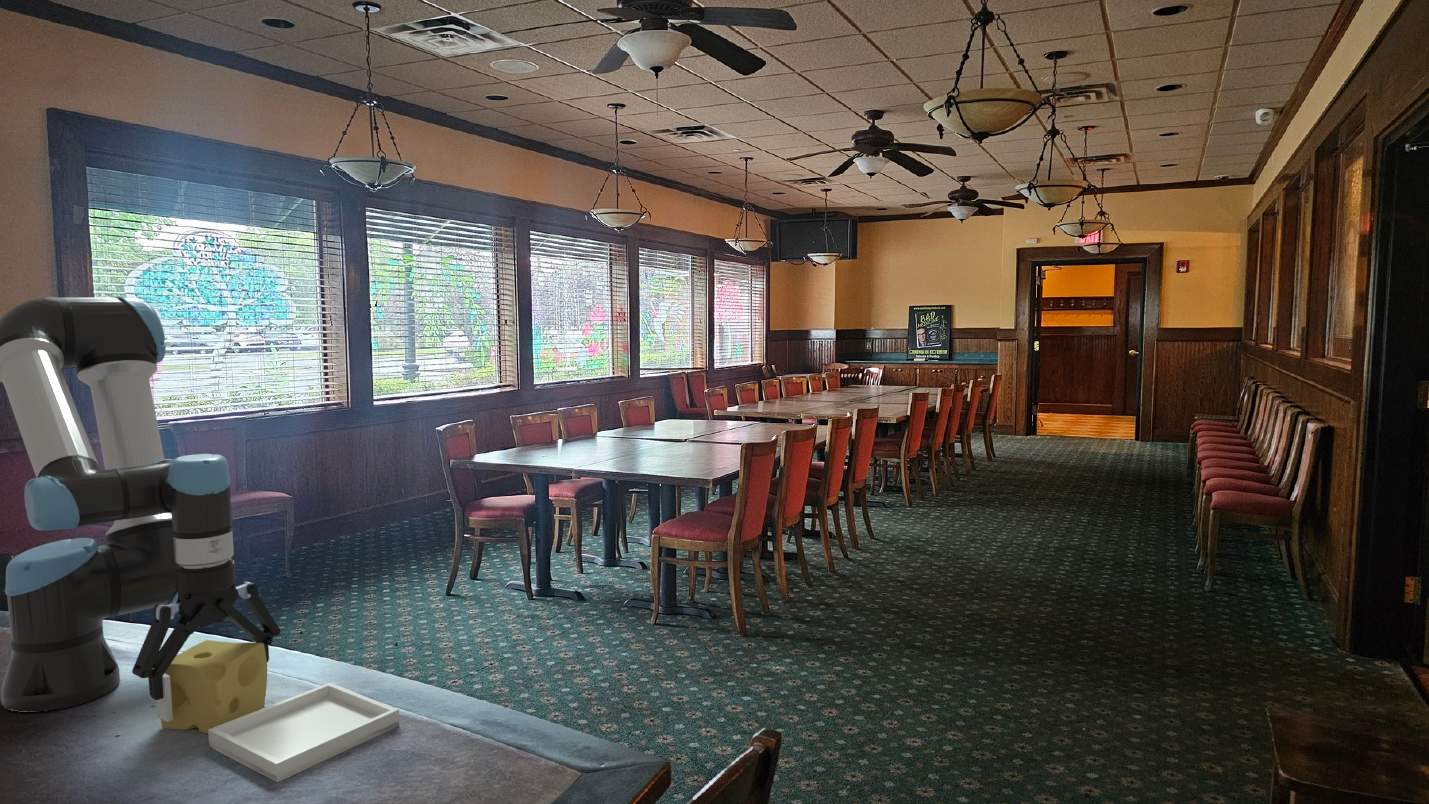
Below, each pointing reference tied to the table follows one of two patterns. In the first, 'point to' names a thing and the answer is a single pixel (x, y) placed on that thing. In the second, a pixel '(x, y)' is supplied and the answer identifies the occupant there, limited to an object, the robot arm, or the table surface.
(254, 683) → the cheese
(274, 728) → the serving tray
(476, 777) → the table surface
